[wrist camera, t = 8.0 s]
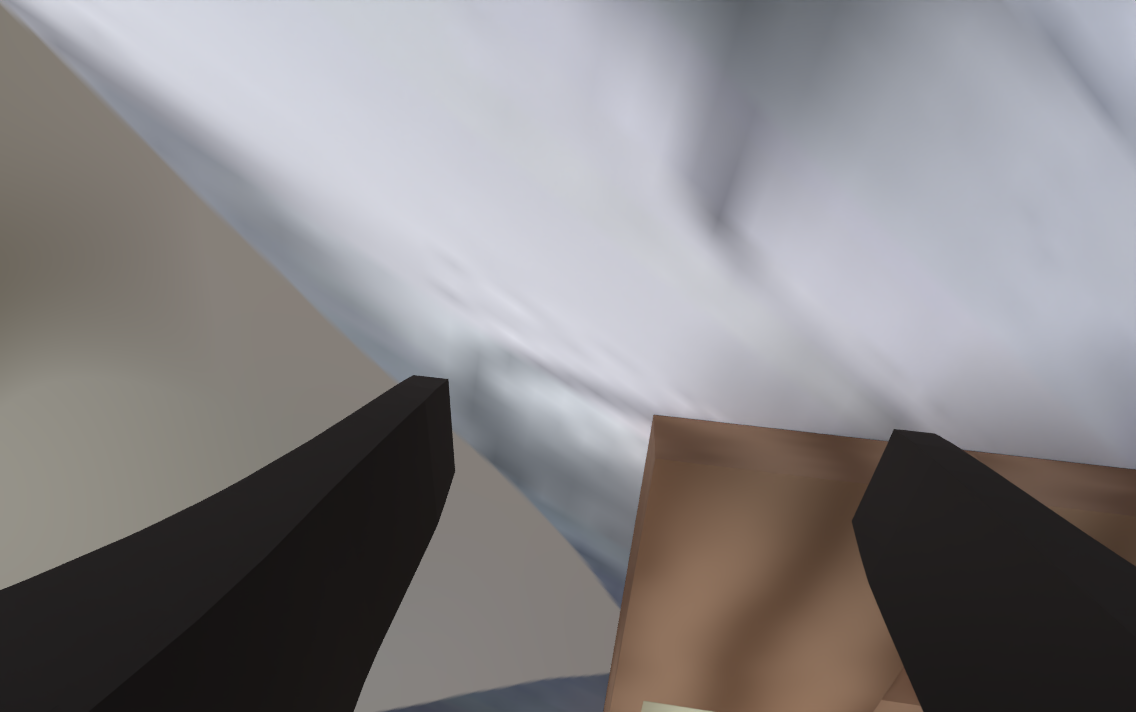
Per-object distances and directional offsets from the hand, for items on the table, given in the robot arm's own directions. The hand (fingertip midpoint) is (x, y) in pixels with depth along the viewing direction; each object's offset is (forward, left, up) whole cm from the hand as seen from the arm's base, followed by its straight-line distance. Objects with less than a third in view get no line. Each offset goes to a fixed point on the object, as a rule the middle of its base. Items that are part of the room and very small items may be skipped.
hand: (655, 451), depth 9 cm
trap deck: (-12, +19, -9) cm, 24 cm away
